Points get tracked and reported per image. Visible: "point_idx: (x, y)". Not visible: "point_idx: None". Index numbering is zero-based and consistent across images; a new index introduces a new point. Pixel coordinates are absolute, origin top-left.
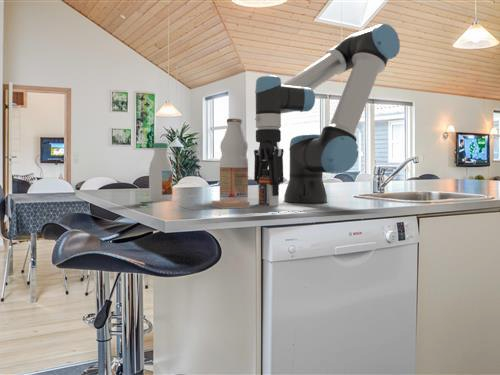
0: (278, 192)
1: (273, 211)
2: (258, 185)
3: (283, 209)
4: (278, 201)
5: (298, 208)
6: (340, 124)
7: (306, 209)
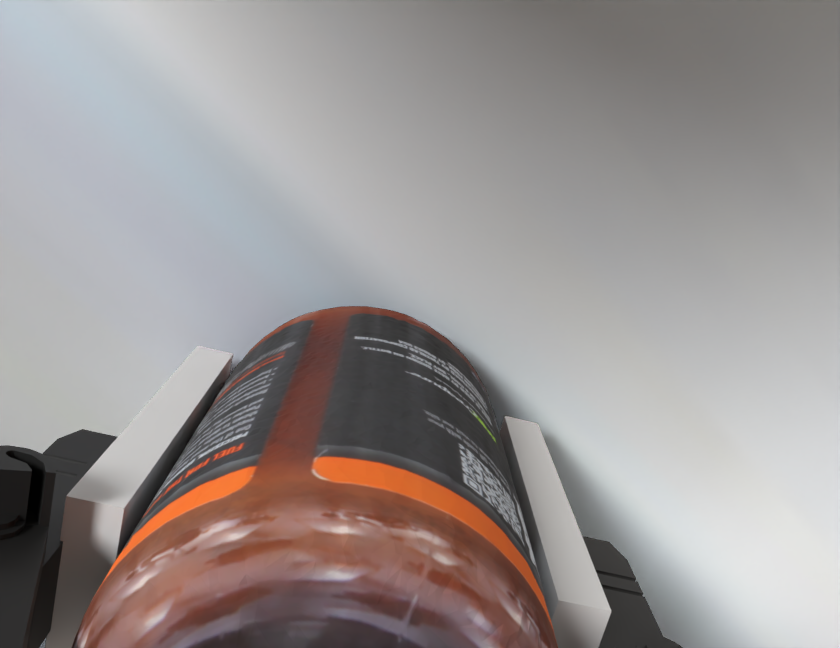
0: (631, 577)
1: (682, 639)
2: (59, 645)
3: (615, 400)
4: (465, 366)
5: (670, 135)
6: None
7: (834, 149)
